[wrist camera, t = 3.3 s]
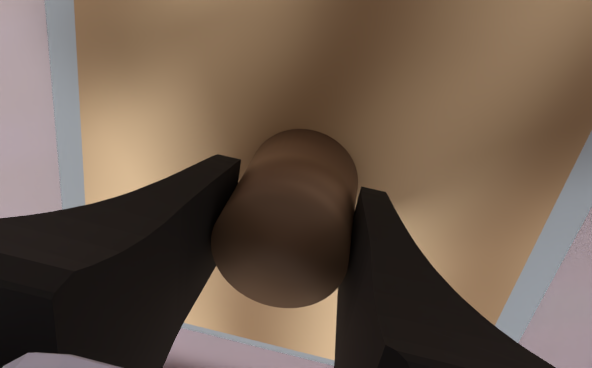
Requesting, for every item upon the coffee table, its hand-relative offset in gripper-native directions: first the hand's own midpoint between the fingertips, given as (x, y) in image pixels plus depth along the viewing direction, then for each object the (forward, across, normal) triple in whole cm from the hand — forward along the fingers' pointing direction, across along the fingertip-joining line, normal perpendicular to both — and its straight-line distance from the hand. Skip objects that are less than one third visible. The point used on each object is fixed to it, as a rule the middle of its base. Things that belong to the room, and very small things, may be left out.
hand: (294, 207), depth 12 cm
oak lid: (+2, 0, 0) cm, 2 cm away
